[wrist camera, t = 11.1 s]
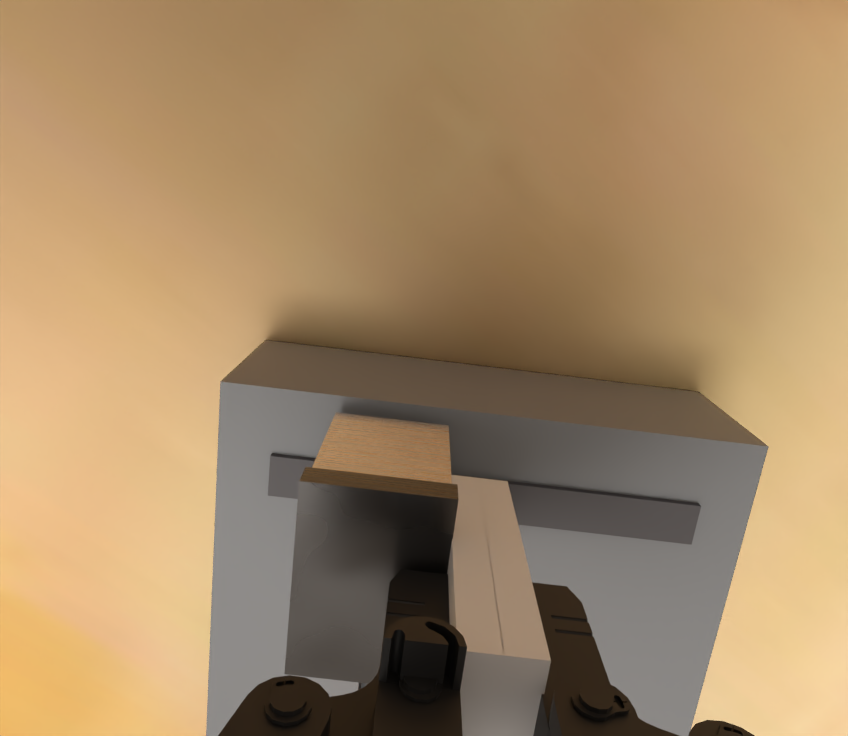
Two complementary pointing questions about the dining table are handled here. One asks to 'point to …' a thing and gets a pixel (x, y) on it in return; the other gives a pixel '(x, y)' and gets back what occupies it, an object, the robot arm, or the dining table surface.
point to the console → (531, 494)
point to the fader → (364, 538)
